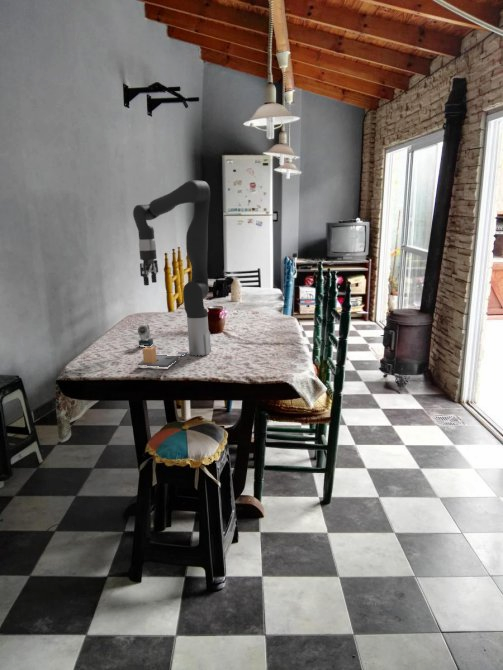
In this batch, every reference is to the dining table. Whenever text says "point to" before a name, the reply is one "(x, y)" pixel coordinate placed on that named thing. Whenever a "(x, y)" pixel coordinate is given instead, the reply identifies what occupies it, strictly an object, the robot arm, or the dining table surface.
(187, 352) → the phone
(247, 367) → the dining table surface
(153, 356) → the block
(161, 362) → the outlet plate
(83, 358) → the dining table surface
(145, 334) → the watch
